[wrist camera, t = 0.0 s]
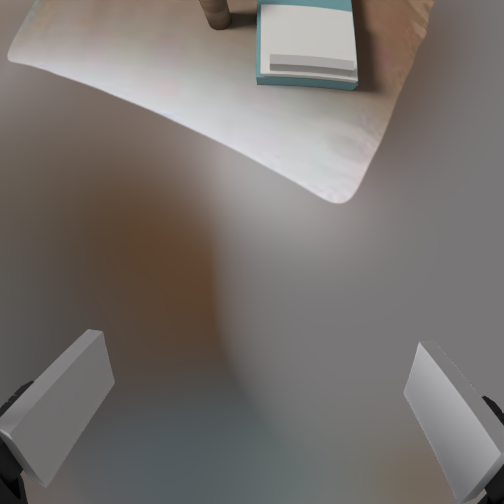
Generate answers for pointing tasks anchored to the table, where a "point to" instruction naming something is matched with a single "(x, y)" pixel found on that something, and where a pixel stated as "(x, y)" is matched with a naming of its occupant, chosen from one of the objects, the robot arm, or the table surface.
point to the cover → (307, 43)
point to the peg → (216, 13)
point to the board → (321, 0)
